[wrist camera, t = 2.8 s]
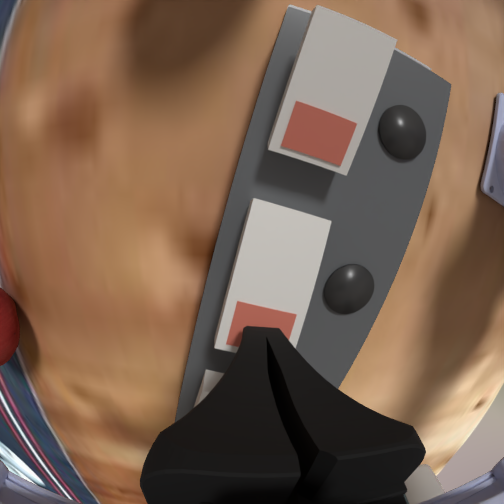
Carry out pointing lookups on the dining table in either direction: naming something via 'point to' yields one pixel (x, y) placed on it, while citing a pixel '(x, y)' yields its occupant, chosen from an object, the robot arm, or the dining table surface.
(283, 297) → the rocker middle
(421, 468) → the stereo radio cassette player
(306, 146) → the rocker
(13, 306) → the onion
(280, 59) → the power strip
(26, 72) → the dining table surface
